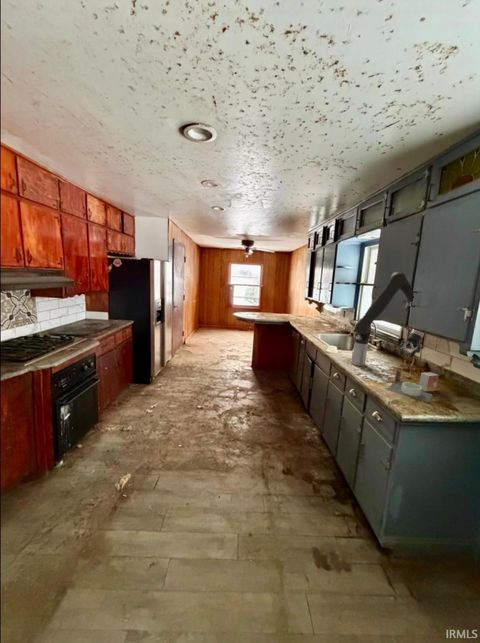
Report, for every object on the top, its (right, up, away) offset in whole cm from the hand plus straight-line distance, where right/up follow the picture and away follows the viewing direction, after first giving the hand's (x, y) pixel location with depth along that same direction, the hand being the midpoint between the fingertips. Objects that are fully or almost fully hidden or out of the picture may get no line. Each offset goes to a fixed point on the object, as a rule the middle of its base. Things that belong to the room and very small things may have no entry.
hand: (405, 355), depth 193 cm
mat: (-8, -20, -19) cm, 28 cm away
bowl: (-8, -20, -20) cm, 29 cm away
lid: (-6, -17, -2) cm, 18 cm away
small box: (+6, -20, -13) cm, 24 cm away
